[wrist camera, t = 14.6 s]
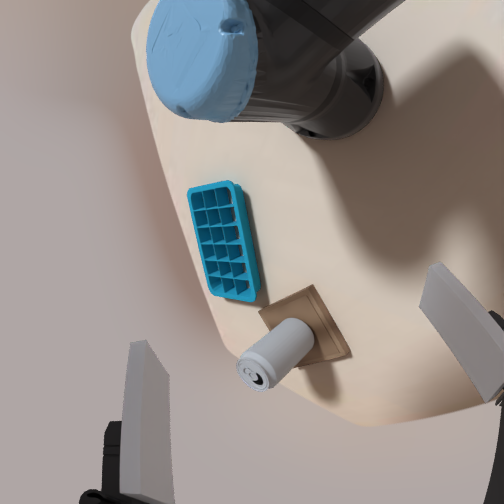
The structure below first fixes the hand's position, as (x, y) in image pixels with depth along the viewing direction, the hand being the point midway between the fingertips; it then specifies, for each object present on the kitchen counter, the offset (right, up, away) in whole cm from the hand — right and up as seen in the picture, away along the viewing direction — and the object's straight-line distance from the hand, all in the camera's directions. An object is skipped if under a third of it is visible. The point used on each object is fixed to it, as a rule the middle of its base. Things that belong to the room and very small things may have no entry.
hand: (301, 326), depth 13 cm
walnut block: (+6, -9, +35) cm, 37 cm away
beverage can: (+5, -10, +34) cm, 36 cm away
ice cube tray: (-6, +6, +40) cm, 41 cm away
